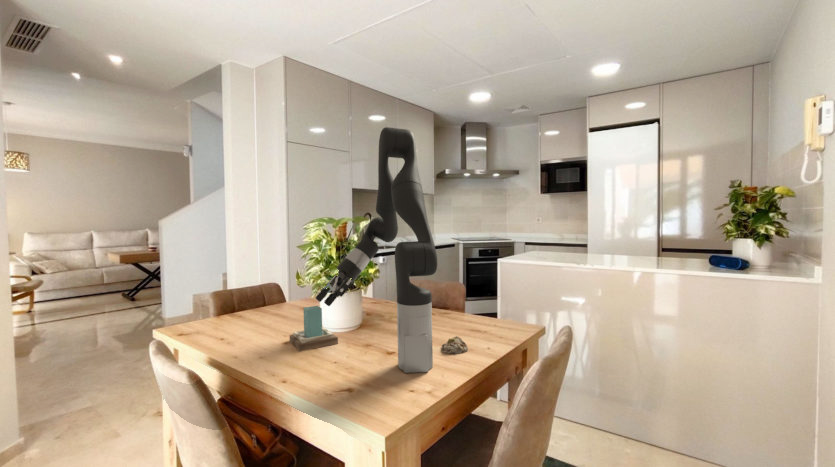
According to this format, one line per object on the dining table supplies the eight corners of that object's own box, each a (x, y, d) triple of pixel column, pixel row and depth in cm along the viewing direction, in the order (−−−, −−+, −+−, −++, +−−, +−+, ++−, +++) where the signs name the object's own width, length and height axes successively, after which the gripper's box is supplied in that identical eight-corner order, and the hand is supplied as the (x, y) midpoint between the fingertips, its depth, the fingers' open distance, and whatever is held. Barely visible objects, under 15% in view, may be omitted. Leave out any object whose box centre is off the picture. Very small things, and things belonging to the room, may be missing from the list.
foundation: (337, 343, 120) (337, 334, 120) (299, 351, 114) (299, 341, 114) (325, 334, 130) (324, 325, 130) (289, 341, 124) (289, 331, 124)
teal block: (322, 336, 121) (321, 308, 121) (308, 338, 119) (307, 310, 119) (317, 332, 125) (317, 305, 125) (304, 335, 123) (303, 307, 122)
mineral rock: (466, 348, 108) (440, 338, 110) (462, 363, 108) (436, 352, 110) (473, 338, 118) (449, 329, 120) (469, 351, 118) (445, 342, 121)
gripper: (338, 256, 134) (306, 292, 128) (354, 258, 122) (320, 298, 116) (352, 269, 137) (322, 305, 131) (370, 273, 125) (337, 313, 119)
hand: (321, 302), depth 123 cm, fingers open, 8 cm apart
